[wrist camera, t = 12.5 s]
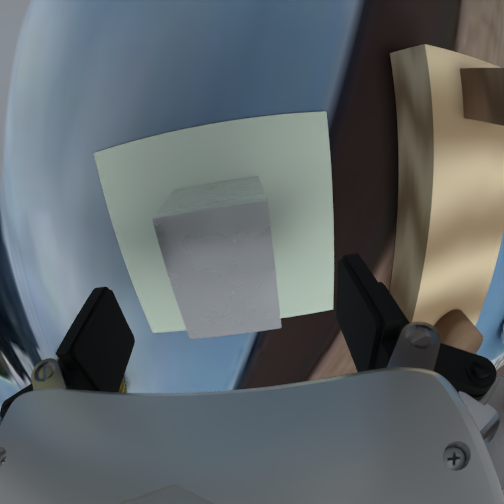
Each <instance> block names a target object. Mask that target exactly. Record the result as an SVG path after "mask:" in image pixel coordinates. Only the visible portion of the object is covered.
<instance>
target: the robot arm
mask: <svg viewBox="0 0 504 504" xmlns="http://www.w3.org/2000/svg"><path fill="white" fill-rule="evenodd" d="M337 320H338V323H339V325H340V328H341V330H342V333H343V335H344V338H345V340H346V343H347V345H348V348H349V350H350V353H351V356H352V358H353V361H354V363H355V366H356V369H357V371H358V372H357V373H351V374H345V375H340V376H335V377H330V378H324V379H318V380H312V381H305V382H299V383H292V384H285V385H278V386H270V387H262V388H252V389H242V390H230V391H217V392H198V393H120V392H119V389H120V386H121V383H122V379H123V376H124V373H125V370H126V367H127V364H128V361H129V358H130V355H131V352H132V349H133V346H134V342H135V340H134V336H133V334H132V332H131V330H130V328H129V326H128V324H127V322H126V319H125V317H124V315H123V313H122V311H121V309H120V307H119V304H118V302H117V300H116V298H115V296H114V293H113V291H112V290H109V289H108V288H107V287H101V288H95V289H94V290H93V291H92V293H91V294H90V296H89V297H88V299H87V301H86V302H85V304H84V305H83V307H82V309H81V310H80V312H79V314H78V315H77V317H76V318H75V320H74V322H73V324H72V325H71V327H70V329H69V330H68V332H67V334H66V336H65V337H64V339H63V341H62V343H61V345H60V346H59V348H58V350H57V352H56V355H57V356H58V357H59V359H58V361H56V360H55V359H52V358H49V359H45V360H43V361H41V362H40V363H38V364H37V365H36V366H35V368H34V369H33V371H32V374H31V379H32V384H30V385H29V386H27V387H26V388H24V389H22V390H21V391H19V392H18V393H16V394H15V395H13V396H11V397H10V398H8V399H7V400H5V401H4V402H3V404H2V407H1V411H0V417H1V418H0V504H504V497H503V493H502V490H503V488H504V376H502V377H501V378H499V377H498V376H496V369H495V366H494V365H493V363H492V362H491V361H489V360H488V359H487V358H485V357H482V356H479V355H476V354H473V353H470V352H467V351H464V350H461V349H458V348H455V347H452V346H449V345H446V344H443V343H441V335H440V333H439V331H438V330H437V329H436V328H435V327H434V326H433V325H431V324H429V323H426V322H421V321H417V322H411V323H410V322H409V321H408V319H407V318H406V316H405V315H404V313H403V312H402V310H401V309H400V307H399V306H398V304H397V303H396V301H395V300H394V298H393V297H392V295H391V294H390V292H389V291H388V289H387V288H386V287H385V285H384V284H383V283H382V282H377V280H376V279H375V277H374V276H373V274H372V273H371V271H370V270H369V269H368V267H367V266H366V264H365V263H364V261H363V260H362V259H361V257H360V256H359V255H358V254H357V253H356V254H350V255H344V256H343V259H341V260H339V262H338V291H337Z"/></svg>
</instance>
